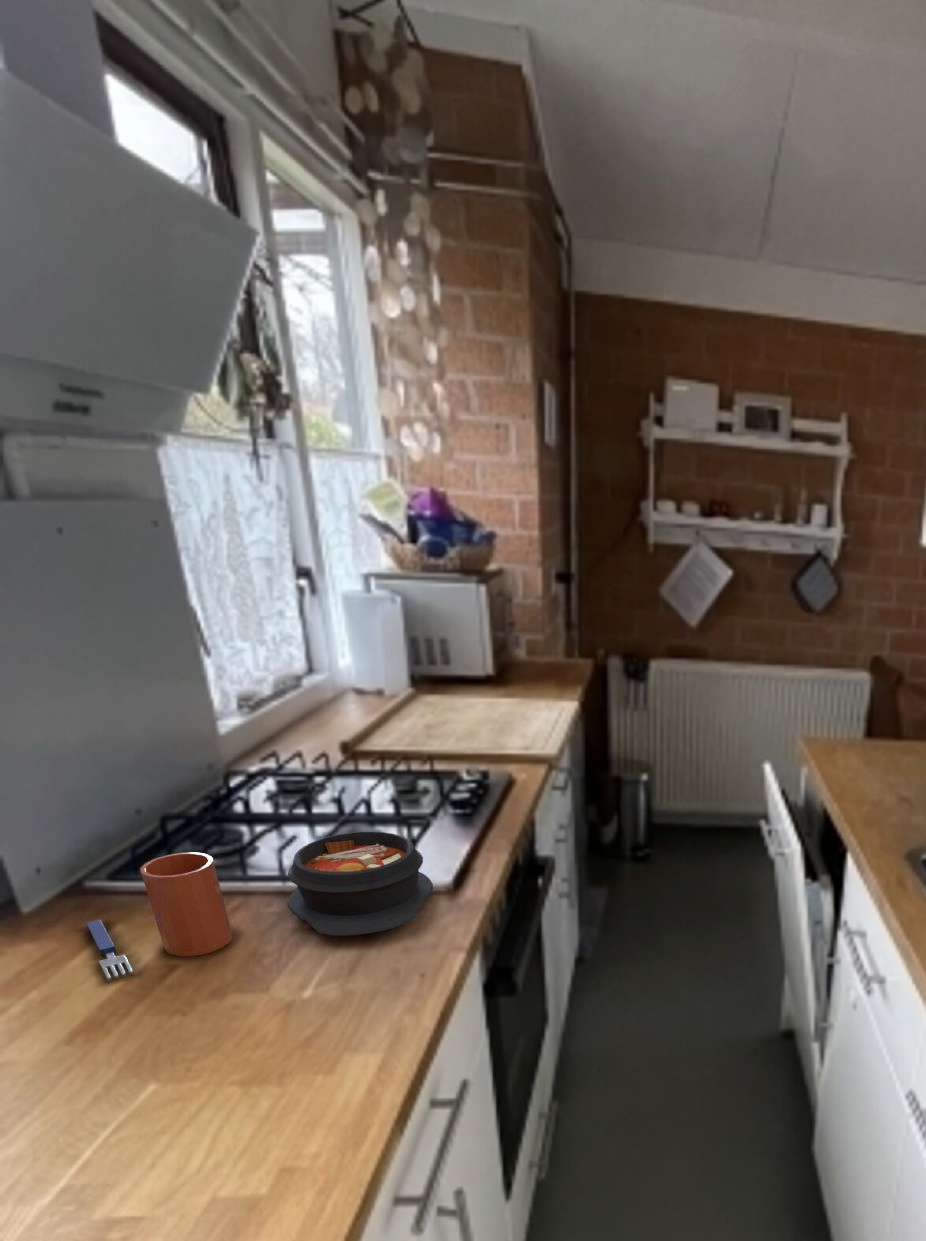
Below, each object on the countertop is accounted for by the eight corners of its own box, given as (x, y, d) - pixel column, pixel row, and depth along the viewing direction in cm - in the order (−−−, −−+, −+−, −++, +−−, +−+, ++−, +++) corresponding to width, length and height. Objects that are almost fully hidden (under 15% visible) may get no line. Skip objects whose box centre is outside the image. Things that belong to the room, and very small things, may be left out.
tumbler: (177, 930, 114) (154, 853, 109) (240, 926, 116) (220, 851, 111) (155, 958, 108) (130, 878, 103) (222, 954, 109) (200, 875, 104)
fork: (83, 930, 113) (80, 923, 112) (107, 924, 114) (105, 918, 114) (107, 981, 103) (105, 974, 102) (134, 974, 104) (132, 967, 104)
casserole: (290, 879, 129) (278, 826, 125) (424, 862, 137) (416, 812, 133) (290, 958, 109) (276, 899, 106) (446, 934, 117) (438, 877, 113)
